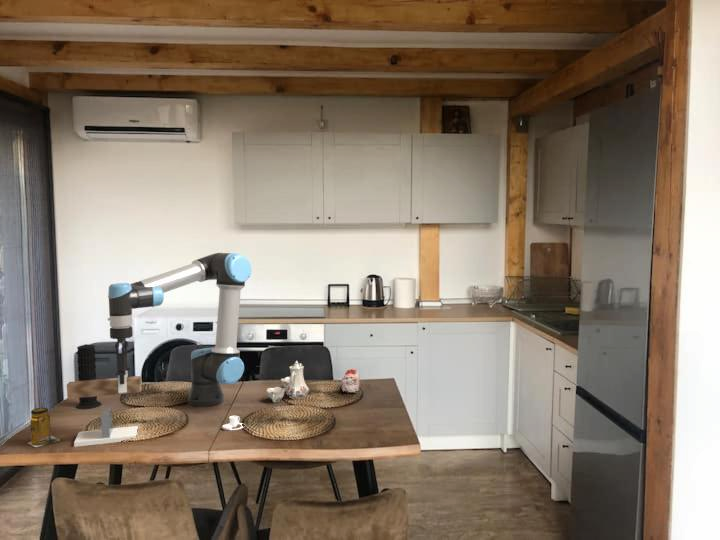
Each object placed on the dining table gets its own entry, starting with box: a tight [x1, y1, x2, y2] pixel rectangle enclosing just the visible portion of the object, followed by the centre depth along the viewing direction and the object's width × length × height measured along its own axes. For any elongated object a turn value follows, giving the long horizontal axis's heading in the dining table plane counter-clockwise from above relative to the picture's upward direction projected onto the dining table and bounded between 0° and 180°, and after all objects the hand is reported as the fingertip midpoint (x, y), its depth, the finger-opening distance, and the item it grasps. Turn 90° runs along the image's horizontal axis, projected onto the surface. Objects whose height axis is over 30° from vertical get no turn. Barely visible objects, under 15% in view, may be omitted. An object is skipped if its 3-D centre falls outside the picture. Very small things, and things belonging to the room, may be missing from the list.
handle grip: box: [75, 343, 102, 410], centre depth 246 cm, size 10×26×10 cm
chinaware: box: [265, 360, 310, 403], centre depth 259 cm, size 28×17×17 cm, turn 171°
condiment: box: [27, 407, 60, 448], centre depth 205 cm, size 7×8×12 cm
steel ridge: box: [100, 407, 113, 439], centre depth 209 cm, size 2×9×8 cm, turn 18°
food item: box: [341, 368, 361, 392], centre depth 267 cm, size 14×8×10 cm, turn 178°
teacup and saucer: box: [221, 415, 244, 431], centre depth 220 cm, size 9×8×4 cm
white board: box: [73, 425, 139, 448], centre depth 209 cm, size 20×11×2 cm, turn 107°
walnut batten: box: [66, 375, 142, 400], centre depth 208 cm, size 24×4×5 cm, turn 104°
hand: (123, 390), depth 210 cm, fingers closed on walnut batten, 4 cm apart
